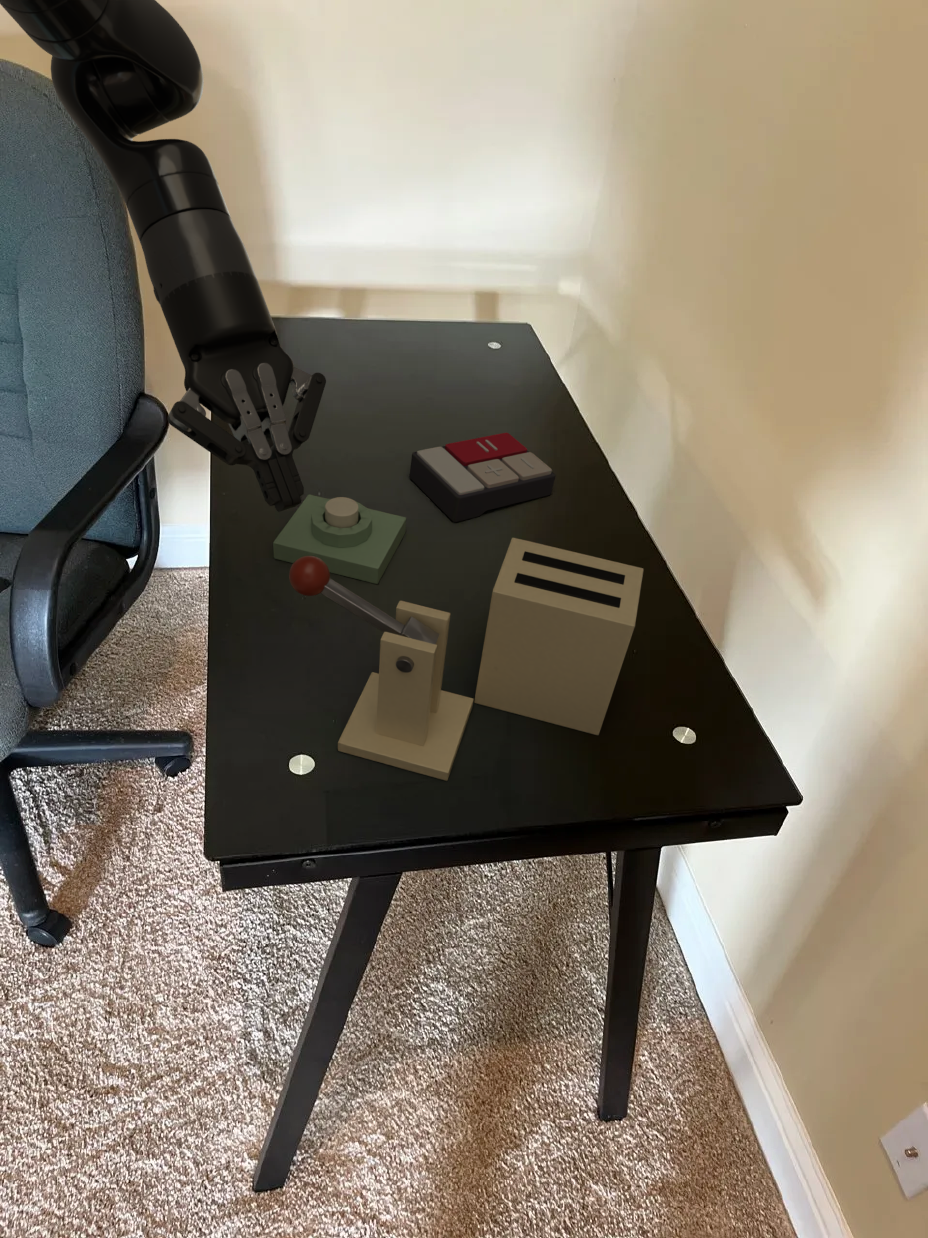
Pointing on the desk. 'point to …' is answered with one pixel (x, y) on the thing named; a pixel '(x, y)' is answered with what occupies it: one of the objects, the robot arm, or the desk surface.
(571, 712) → the toaster
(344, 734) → the lever bracket
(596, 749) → the desk surface
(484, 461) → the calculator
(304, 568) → the red-knobbed metal lever
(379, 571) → the switch block
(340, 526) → the button
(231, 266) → the robot arm
